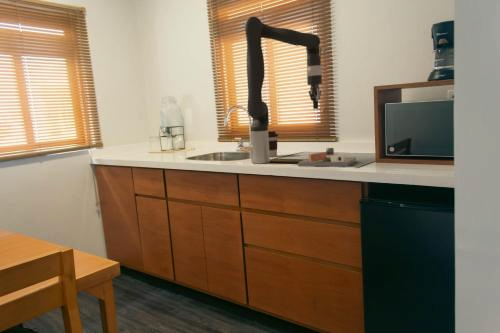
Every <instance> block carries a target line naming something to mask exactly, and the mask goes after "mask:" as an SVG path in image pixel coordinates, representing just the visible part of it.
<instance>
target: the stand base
mask: <svg viewBox="0 0 500 333" xmlns="http://www.w3.org/2000/svg"><path fill="white" fill-rule="evenodd" d="M297 162H298V163H297V167H320V168H322V167H325V168H326V167H328V168H329V167H334V168H335V167H336V168H337V167H338V168H339V167H340V168H341V167H342V168H348V167H349V166H351V165H352V164H354V163H357V157H356V156H354V157H353V156H352V157H351V156H350V157H346V156H345V154H339V155H331V159H329V160H327V159H325V160H319V161H313V162H309V157H308V158H305V159H303V160H301V161H297Z"/></svg>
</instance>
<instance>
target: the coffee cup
mask: <svg viewBox="0 0 500 333" xmlns="http://www.w3.org/2000/svg"><path fill="white" fill-rule="evenodd" d="M278 137H279V134H278V133H276V131H271V130H270V131H269V130H268V139H269V155H270V158H276V157H277V156H278Z"/></svg>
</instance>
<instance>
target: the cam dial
mask: <svg viewBox="0 0 500 333" xmlns="http://www.w3.org/2000/svg"><path fill="white" fill-rule="evenodd" d="M331 155H340V154H339V153H338V152H337V153H336V152H335V149H334V147H326V151H321V152H315V153H309V154H308V158H309V162H313V161H319V160H325V159H327V160H329V159H331Z"/></svg>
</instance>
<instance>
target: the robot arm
mask: <svg viewBox="0 0 500 333" xmlns="http://www.w3.org/2000/svg"><path fill="white" fill-rule="evenodd" d="M244 33H245V38H246V76H247V77H246V78H247V113H248V116H250V117H251V119H252V122H251V126H250V136H251V137H250V138H251V145H250V158H251V164H267V163H270V162H271V161H270V160H271V157H270V155H269V139H268V132H269V123H270V122H269V120H270V119H269V118H270V117H269V108H268V104H267V103H266V102H265V101H263V98H262V96H263V95H262V91H263V90H262V89H263V84H264V80H265V61H264V52H263V47H262V38H263V39H268V40H274V41H277V42H281V43H284V44H288V45H292V46H296V47H297V46H302V47H304V48H306V49H305V50H306V80H307V82H306V83H307V85H308V86H310V87H309V88H310V89H309V90H308V94H309V98H310V101H312V105H313V106H312V107H313V110H317V109H319V102H320V100H321V97H322V96H321V94H322V90H321V89H320V85H322V84H323V77H322V76H323V73H322V72H323V71H322V63H321V55H320V54H321V53H320V44H321V38H320V37H319V36H318V35H317V34H313V33H310V32H302V31H298V30H294V29H290V28H284V27H276V26H272V25H271V26H270V25H268V24H266V23H264V22H262V21H261V19H260V18H259V17H257V16H250V17H248V18H247V19H246V21H245V23H244Z"/></svg>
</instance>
